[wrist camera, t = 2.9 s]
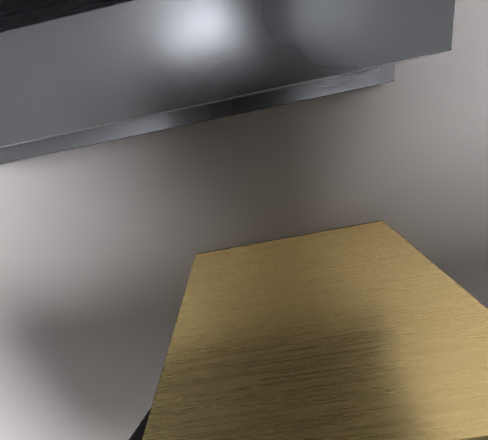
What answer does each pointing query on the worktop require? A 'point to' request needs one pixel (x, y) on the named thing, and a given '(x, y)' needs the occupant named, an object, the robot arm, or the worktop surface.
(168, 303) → the worktop surface
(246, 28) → the frame
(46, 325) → the worktop surface
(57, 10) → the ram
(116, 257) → the worktop surface
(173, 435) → the block
